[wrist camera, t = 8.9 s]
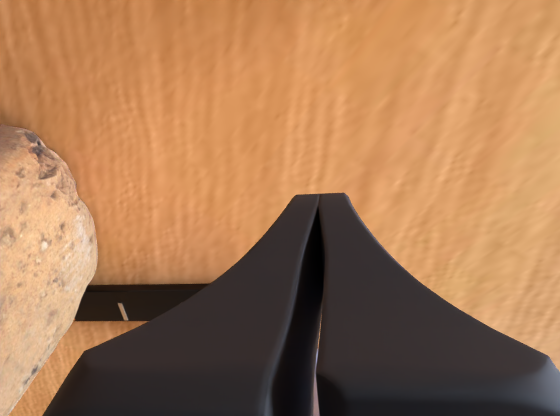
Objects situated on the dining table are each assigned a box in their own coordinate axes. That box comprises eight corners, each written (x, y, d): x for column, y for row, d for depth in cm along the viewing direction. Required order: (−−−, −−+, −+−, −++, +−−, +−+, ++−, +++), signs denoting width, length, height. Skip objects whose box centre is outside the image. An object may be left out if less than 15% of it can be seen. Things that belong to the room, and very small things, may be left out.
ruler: (286, 314, 25) (284, 322, 25) (-9, 315, 28) (-16, 322, 28) (281, 282, 24) (280, 289, 24) (-26, 286, 27) (-33, 293, 26)
